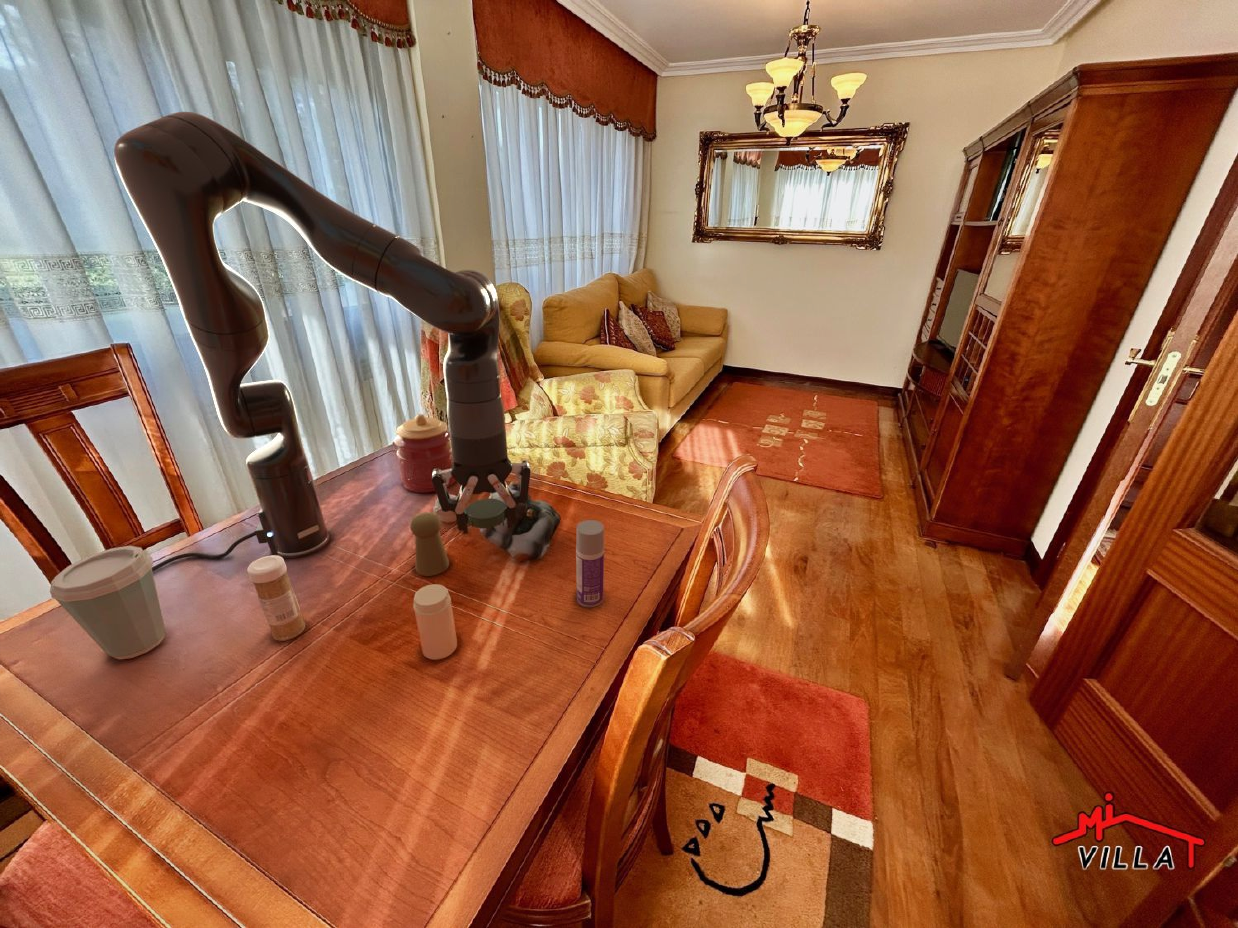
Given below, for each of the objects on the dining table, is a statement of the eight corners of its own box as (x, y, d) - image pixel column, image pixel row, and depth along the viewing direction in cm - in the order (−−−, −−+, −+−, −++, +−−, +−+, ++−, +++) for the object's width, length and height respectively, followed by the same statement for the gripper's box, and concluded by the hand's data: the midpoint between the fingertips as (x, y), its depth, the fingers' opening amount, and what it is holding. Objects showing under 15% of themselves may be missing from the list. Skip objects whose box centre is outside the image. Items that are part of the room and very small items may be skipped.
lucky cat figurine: (537, 570, 94) (495, 518, 88) (494, 570, 101) (452, 522, 95) (571, 514, 104) (536, 464, 98) (531, 518, 111) (495, 471, 105)
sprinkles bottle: (306, 617, 82) (284, 550, 76) (304, 636, 78) (281, 568, 72) (274, 626, 80) (248, 558, 74) (270, 646, 76) (243, 576, 70)
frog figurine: (434, 531, 105) (429, 503, 102) (436, 514, 111) (432, 486, 108) (464, 528, 106) (460, 500, 103) (465, 511, 112) (461, 484, 109)
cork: (438, 578, 92) (430, 528, 87) (409, 572, 93) (399, 523, 88) (455, 558, 97) (448, 510, 92) (426, 553, 98) (418, 505, 93)
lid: (505, 506, 79) (504, 496, 78) (508, 525, 74) (507, 516, 73) (466, 510, 77) (465, 500, 76) (466, 530, 72) (465, 520, 71)
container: (607, 594, 89) (609, 523, 83) (595, 610, 85) (596, 538, 79) (584, 586, 91) (584, 516, 84) (571, 602, 87) (570, 530, 81)
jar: (421, 662, 75) (410, 609, 70) (423, 637, 79) (413, 585, 74) (457, 655, 76) (449, 603, 71) (457, 631, 80) (449, 580, 76)
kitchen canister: (391, 490, 120) (377, 422, 112) (419, 466, 131) (409, 403, 123) (442, 496, 118) (432, 427, 110) (466, 471, 129) (458, 407, 121)
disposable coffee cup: (79, 681, 70) (25, 598, 63) (106, 629, 78) (61, 552, 72) (175, 655, 74) (134, 575, 68) (190, 609, 83) (156, 534, 76)
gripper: (420, 441, 64) (437, 549, 71) (533, 432, 67) (538, 535, 75) (423, 420, 70) (439, 521, 78) (526, 413, 74) (532, 510, 81)
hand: (488, 527), depth 76 cm, fingers closed on lid, 6 cm apart
